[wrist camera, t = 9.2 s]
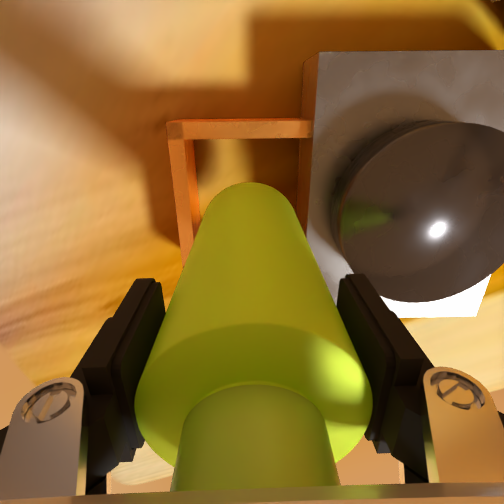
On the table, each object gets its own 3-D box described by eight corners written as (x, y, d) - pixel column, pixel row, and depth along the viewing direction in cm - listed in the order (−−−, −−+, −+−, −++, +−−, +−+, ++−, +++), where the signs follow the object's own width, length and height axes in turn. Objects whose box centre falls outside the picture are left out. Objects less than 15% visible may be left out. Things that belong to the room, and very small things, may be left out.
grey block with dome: (172, 63, 21) (135, 43, 14) (504, 60, 22) (634, 39, 15) (195, 288, 29) (179, 349, 22) (440, 283, 30) (504, 341, 22)
